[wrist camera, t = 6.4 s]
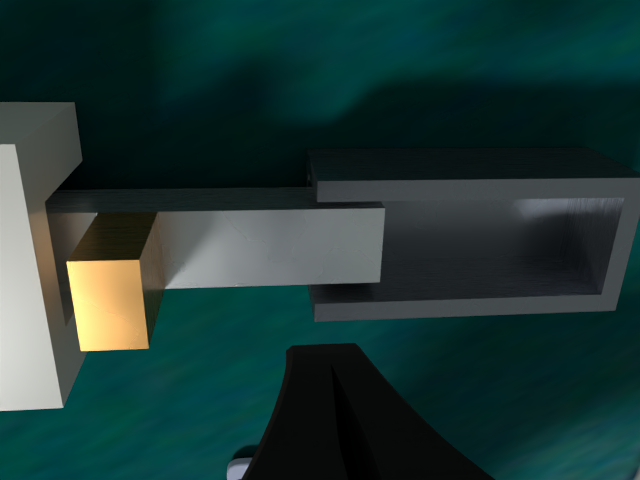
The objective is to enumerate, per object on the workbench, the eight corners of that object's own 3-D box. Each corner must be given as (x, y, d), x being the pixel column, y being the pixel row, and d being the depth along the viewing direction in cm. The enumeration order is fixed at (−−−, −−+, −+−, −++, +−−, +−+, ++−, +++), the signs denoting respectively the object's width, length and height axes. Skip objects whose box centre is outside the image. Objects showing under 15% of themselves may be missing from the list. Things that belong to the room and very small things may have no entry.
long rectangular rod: (367, 254, 20) (404, 337, 15) (-11, 263, 19) (-97, 358, 14) (372, 186, 19) (412, 253, 14) (-27, 191, 18) (-124, 266, 13)
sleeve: (563, 264, 22) (615, 310, 19) (304, 270, 21) (314, 321, 18) (587, 147, 20) (649, 177, 17) (306, 148, 19) (317, 181, 16)
